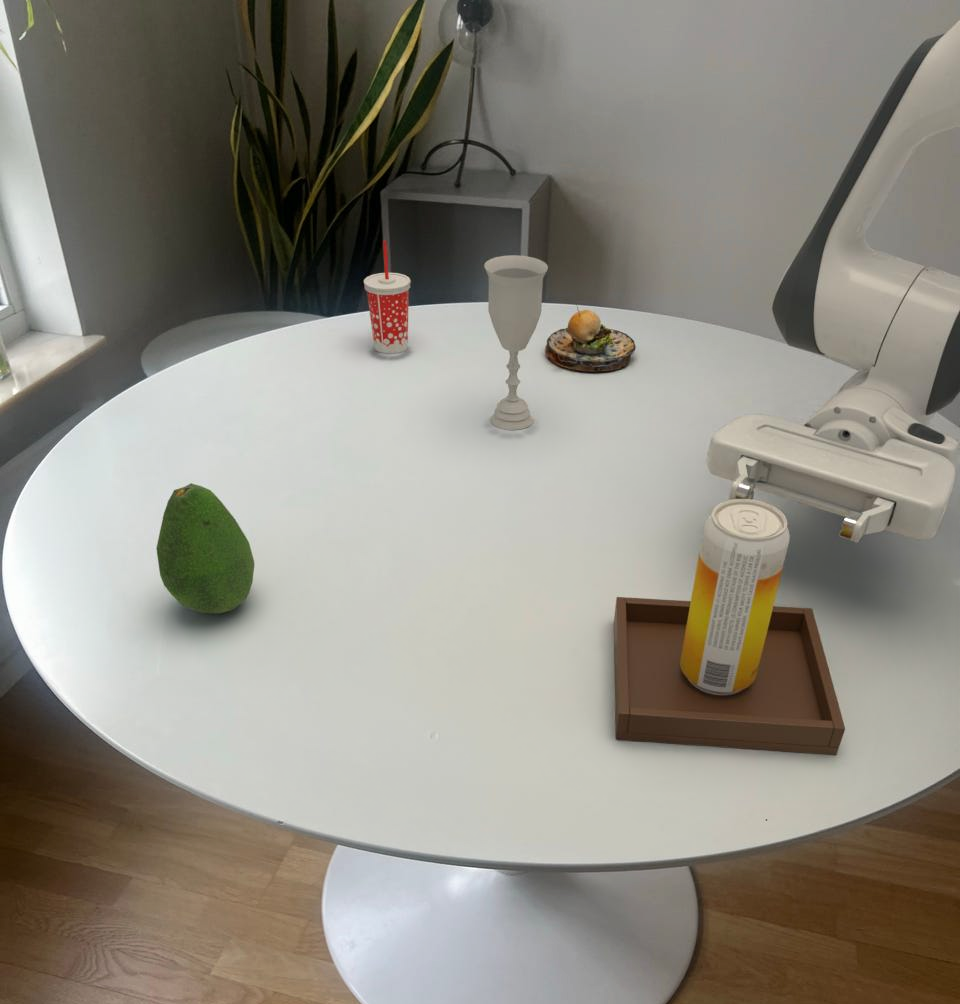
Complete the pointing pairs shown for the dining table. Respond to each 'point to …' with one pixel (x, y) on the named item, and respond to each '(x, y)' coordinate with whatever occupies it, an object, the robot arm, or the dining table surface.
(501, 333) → the chalice
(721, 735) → the serving tray
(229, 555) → the avocado
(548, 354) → the burger
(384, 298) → the beverage cup
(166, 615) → the dining table surface
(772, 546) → the beer can
